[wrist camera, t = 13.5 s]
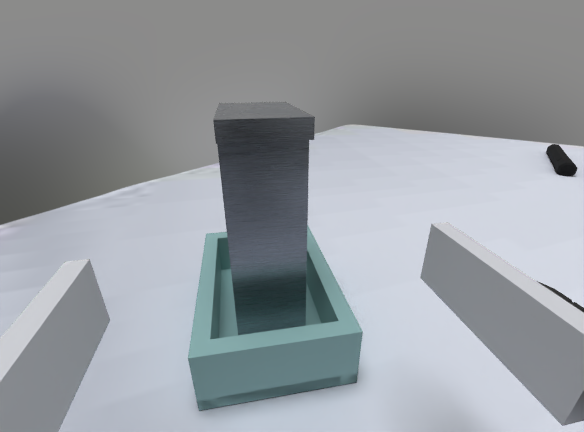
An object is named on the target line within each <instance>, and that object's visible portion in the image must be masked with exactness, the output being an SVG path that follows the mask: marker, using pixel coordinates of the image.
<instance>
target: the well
mask: <svg viewBox="0 0 584 432" xmlns="http://www.w3.org/2000/svg"><path fill="white" fill-rule="evenodd" d="M362 333H363V332H362V330H361V328H360V326H359V324H358V322H357V320H356V318H355V316H354V314H353V312H352V310H351V308H350V306H349V304H348V303H347V301H346V299H345V297H344V295H343V293H342V291H341V289H340V287H339V285H338V283H337V281H336V279H335V277H334V275H333V273H332V271H331V270H330V268H329V266H328V264H327V262H326V260H325V258H324V256H323V254H322V252H321V250H320V248H319V246H318V244H317V242H316V240H315V238H314V237H313V235H312V233H311V231H310V229H309V227H308V225H307V276H306V326H300V327H293V328H286V329H279V330H273V331H266V332H259V333H252V334H245V335H238V330H237V321H236V311H235V302H234V293H233V284H232V274H231V265H230V256H229V247H228V237H227V232H221V233H209V234H206V238H205V245H204V252H203V259H202V266H201V273H200V280H199V287H198V293H197V300H196V307H195V314H194V321H193V328H192V335H191V341H190V348H189V355H188V361H189V365H190V370H191V375H192V380H193V384H194V389H195V394H196V399H197V403H198V408H199V411H200V410H205V409H211V408H216V407H222V406H227V405H233V404H239V403H244V402H250V401H255V400H261V399H266V398H272V397H278V396H283V395H289V394H294V393H300V392H305V391H311V390H317V389H322V388H328V387H333V386H339V385H344V384H350V383H356V381H357V373H358V365H359V357H360V349H361V341H362Z"/></svg>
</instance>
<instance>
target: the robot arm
mask: <svg viewBox="0 0 584 432" xmlns="http://www.w3.org/2000/svg"><path fill="white" fill-rule="evenodd" d="M420 278H421V279H422V280H423V281H424V282H425V283H426V284H427V285H428V286H429V287H430V288H431V289H432V290H433V291H434V292H435V293H436V295H437V296H438V297H439V298H440V299H441V300H442V301H443V302H444V303H445V304H446V305H447V306H448V307H449V308H450V309H451V310H452V311H453V312H454V313H455V314H456V315H457V316H458V317H459V318H460V320H461V321H462V322H463V323H464V324H465V325H466V326H467V327H468V328H469V329H470V330H471V331H472V332H473V333H474V334H475V335H476V336H477V337H478V338H479V339H480V340H481V341H482V342H483V344H484V345H485V346H486V347H487V348H488V349H489V350H490V351H491V352H492V353H493V354H494V355H495V356H496V357H497V358H498V359H499V360H500V361H501V362H502V363H503V364H504V365H505V366H506V367H507V369H508V370H509V371H510V372H511V373H512V374H513V375H514V376H515V377H516V378H517V379H518V380H519V381H520V382H521V383H522V384H523V385H524V386H525V387H526V388H527V389H528V390H529V391H530V392H531V394H532V395H533V396H534V397H535V398H536V399H537V400H538V401H539V402H540V403H541V404H542V405H543V406H544V407H545V408H546V409H547V410H548V411H549V412H550V413H551V414H552V415H553V416H554V418H555V419H556V420H557V421H558V422H559V423H560V424H561V425H562V426H564V425H568V424H572V423H576V422H580V421H584V308H583V307H581V306H580V305H578V304H577V303H575V302H574V303H573V302H572V300H571V299H569V298H568V297H566V296H565V295H563V294H562V293H560V292H559V291H557V290H555V289H553V288H551V287H549V286H547V285H544V284H542V283H540V282H538V281H535V280H534V279H532V278H531V277H529V276H528V275H526V274H525V273H523V272H522V271H520V270H519V269H517V268H516V267H514V266H513V265H511V264H510V263H508V262H507V261H505V260H504V259H502V258H501V257H499V256H498V255H496V254H495V253H493V252H492V251H490V250H489V249H487V248H486V247H484V246H483V245H481V244H480V243H478V242H477V241H475V240H474V239H472V238H471V237H469V236H468V235H466V234H465V233H463V232H462V231H460V230H459V229H457V228H456V227H454V226H453V225H451V224H450V223H448V222H446V223H436V224H431V229H430V234H429V239H428V244H427V248H426V253H425V258H424V263H423V268H422V272H421V277H420ZM109 321H110V318H109V315H108V312H107V309H106V306H105V303H104V300H103V297H102V295H101V292H100V289H99V286H98V283H97V280H96V277H95V274H94V271H93V268H92V265H91V262H90V259H86V260H77V261H67V262H64V263H63V265H62V266H61V267H60V268H59V269H58V270H57V272H56V273H55V274H54V275H53V276H52V278H51V279H50V280H49V281H48V282H47V283H46V285H45V286H44V287H43V288H42V289H41V290H40V292H39V293H38V294H37V295H36V296H35V298H34V299H33V300H32V301H31V302H30V303H29V305H28V306H27V307H26V308H25V309H24V310H23V312H22V313H21V314H20V315H19V316H18V318H17V319H16V320H15V321H14V322H13V323H12V325H11V326H10V327H9V328H8V329H7V330H6V332H5V333H4V334H3V335H2V336H1V338H0V432H58V431H59V429H60V427H61V425H62V422H63V420H64V418H65V416H66V414H67V412H68V409H69V407H70V405H71V403H72V401H73V399H74V397H75V394H76V392H77V390H78V388H79V386H80V384H81V381H82V379H83V377H84V375H85V373H86V371H87V369H88V366H89V364H90V362H91V360H92V358H93V356H94V354H95V351H96V349H97V347H98V345H99V343H100V341H101V338H102V336H103V334H104V332H105V330H106V328H107V326H108V323H109Z"/></svg>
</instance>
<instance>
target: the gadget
mask: <svg viewBox="0 0 584 432" xmlns="http://www.w3.org/2000/svg"><path fill="white" fill-rule="evenodd" d="M546 152H547V154H548V156H549V157H550V159H551V161H552V163H553V165H554V168H555V169H556V171H557V173H558V174H559V175H562V176H572V175H574V174H575V173H576V171H577V167H576V165H575V164H574V163H573V162H572V161H571V159H569V157H568V156H567V155H566V154H565V152H564V151H563V150H562V148H561V147H560V146H559V145H556V144H552V145H551V146H549V147H548V148H547V151H546Z"/></svg>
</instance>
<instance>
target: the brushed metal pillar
mask: <svg viewBox="0 0 584 432" xmlns="http://www.w3.org/2000/svg"><path fill="white" fill-rule="evenodd" d="M314 118H315V117H314V116H312V115H310V114H308V113H306V112H304V111H302V110H300V109H298V108H296V107H294V106H292V105H290V104H288V103H286V102H264V103H263V102H260V103H219V105H218V108H217V111H216V114H215V117H214V130H215V139H216V143H217V145H218V154H219V163H220V173H221V182H222V191H223V200H224V210H225V219H226V228H227V237H228V247H229V256H230V265H231V274H232V284H233V293H234V302H235V311H236V321H237V330H238V335H245V334H252V333H259V332H266V331H273V330H279V329H286V328H293V327H300V326H306V276H307V220H308V164H309V140H314V121H315V119H314Z"/></svg>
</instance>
